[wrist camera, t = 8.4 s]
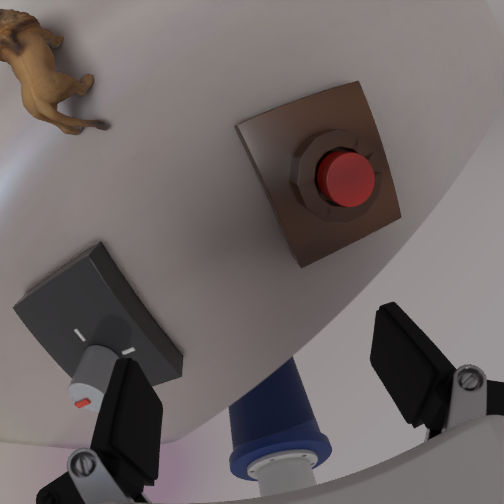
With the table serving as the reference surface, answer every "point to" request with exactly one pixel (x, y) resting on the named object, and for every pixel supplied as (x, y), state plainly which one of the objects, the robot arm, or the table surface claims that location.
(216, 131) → the table surface
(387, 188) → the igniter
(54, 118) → the lion figurine
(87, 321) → the dark grey dial base
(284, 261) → the table surface
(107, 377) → the knob
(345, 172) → the button
